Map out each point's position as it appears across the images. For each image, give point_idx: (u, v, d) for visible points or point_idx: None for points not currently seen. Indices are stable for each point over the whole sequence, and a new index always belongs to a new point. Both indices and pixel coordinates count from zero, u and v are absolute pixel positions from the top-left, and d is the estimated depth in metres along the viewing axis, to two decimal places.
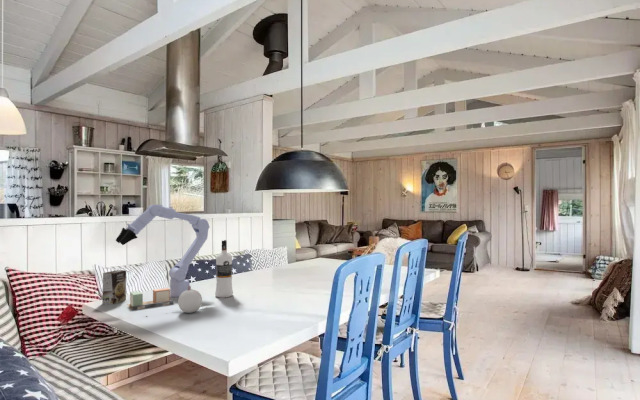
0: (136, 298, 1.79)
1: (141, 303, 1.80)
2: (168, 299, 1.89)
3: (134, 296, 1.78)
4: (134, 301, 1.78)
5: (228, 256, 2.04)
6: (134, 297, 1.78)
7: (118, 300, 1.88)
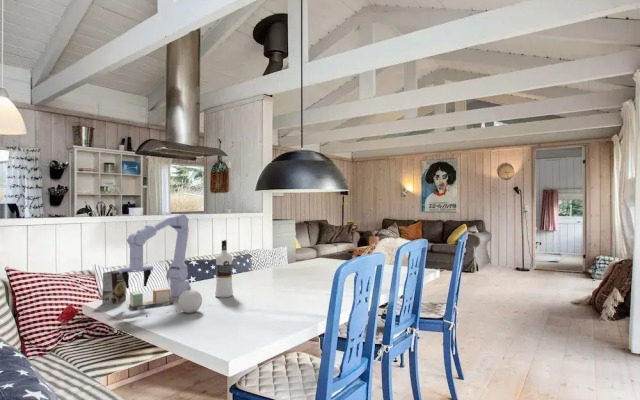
0: (136, 298, 1.79)
1: (141, 303, 1.80)
2: (168, 299, 1.89)
3: (134, 296, 1.78)
4: (134, 301, 1.78)
5: (228, 256, 2.04)
6: (134, 297, 1.78)
7: (118, 300, 1.88)
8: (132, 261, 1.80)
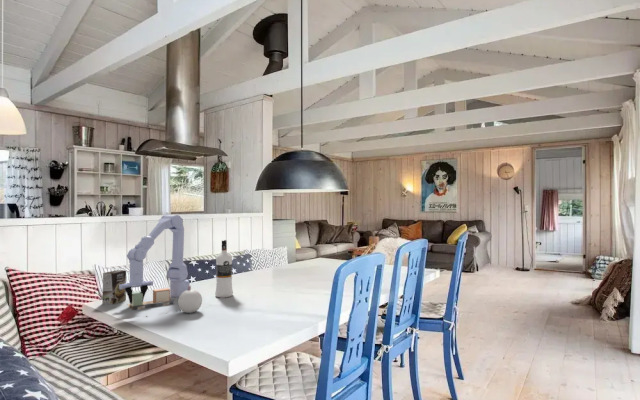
0: (136, 298, 1.79)
1: (141, 303, 1.80)
2: (168, 299, 1.89)
3: (134, 296, 1.78)
4: (134, 301, 1.78)
5: (228, 256, 2.04)
6: (134, 297, 1.78)
7: (118, 300, 1.88)
8: (132, 277, 1.80)
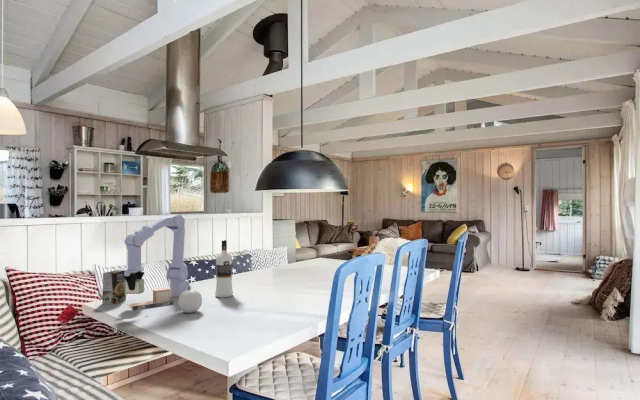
0: (141, 284, 1.78)
1: (143, 288, 1.80)
2: (168, 299, 1.89)
3: (140, 282, 1.77)
4: (140, 287, 1.77)
5: (228, 256, 2.04)
6: (140, 283, 1.77)
7: (118, 300, 1.88)
8: (136, 262, 1.77)
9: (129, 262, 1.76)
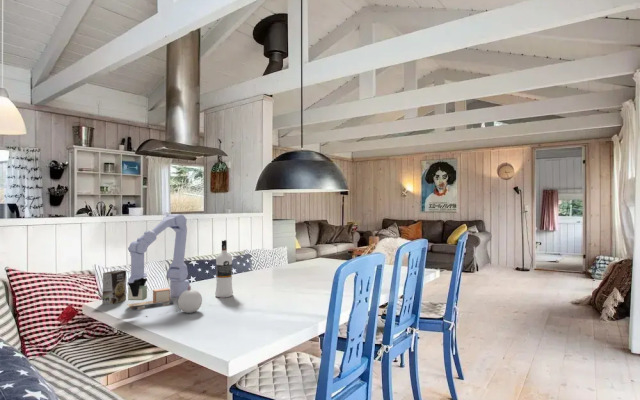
0: (144, 290, 1.82)
1: (146, 295, 1.84)
2: (168, 299, 1.89)
3: (143, 288, 1.81)
4: (143, 293, 1.81)
5: (228, 256, 2.04)
6: (143, 289, 1.81)
7: (118, 300, 1.88)
8: (139, 269, 1.81)
9: (133, 269, 1.80)
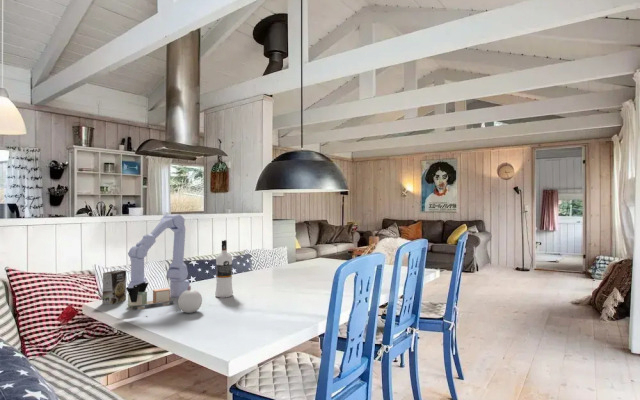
0: (144, 296, 1.82)
1: (146, 301, 1.84)
2: (168, 299, 1.89)
3: (143, 295, 1.81)
4: (143, 300, 1.81)
5: (228, 256, 2.04)
6: (143, 296, 1.81)
7: (118, 300, 1.88)
8: (139, 274, 1.81)
9: (133, 274, 1.80)
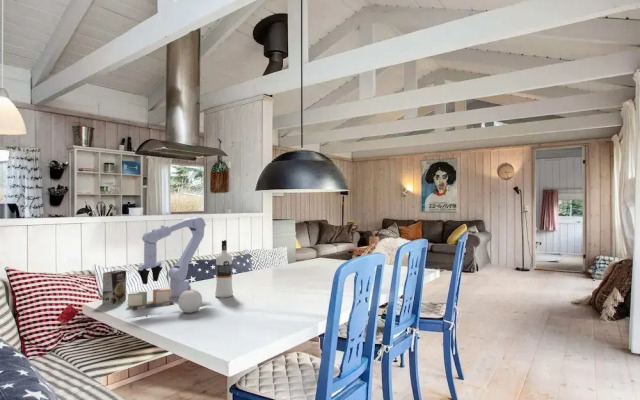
0: (144, 296, 1.82)
1: (146, 301, 1.84)
2: (168, 299, 1.89)
3: (143, 295, 1.81)
4: (143, 300, 1.81)
5: (228, 256, 2.04)
6: (143, 296, 1.81)
7: (118, 300, 1.88)
8: (150, 258, 1.91)
9: (145, 257, 1.91)
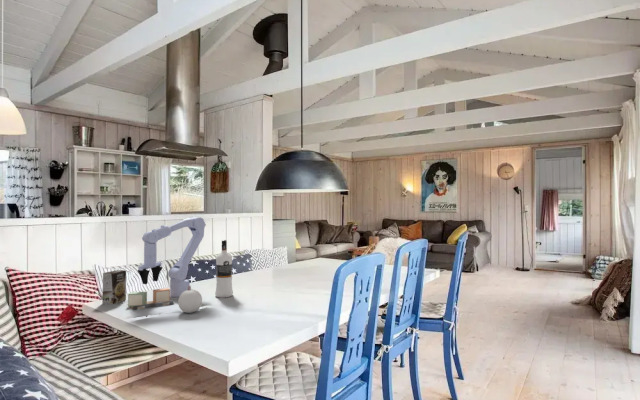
0: (144, 296, 1.82)
1: (146, 301, 1.84)
2: (168, 299, 1.89)
3: (143, 295, 1.81)
4: (143, 300, 1.81)
5: (228, 256, 2.04)
6: (143, 296, 1.81)
7: (118, 300, 1.88)
8: (150, 258, 1.91)
9: (145, 257, 1.91)
